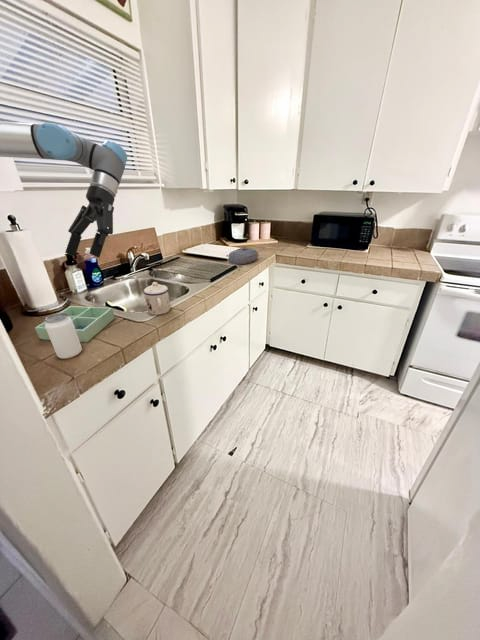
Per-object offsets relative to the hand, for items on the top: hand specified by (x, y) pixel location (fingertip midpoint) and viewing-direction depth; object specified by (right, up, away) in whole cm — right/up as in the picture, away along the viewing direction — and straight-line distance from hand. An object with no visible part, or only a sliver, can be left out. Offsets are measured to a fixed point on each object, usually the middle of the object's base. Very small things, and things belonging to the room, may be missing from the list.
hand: (81, 255), depth 79 cm
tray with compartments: (-8, -23, +12) cm, 27 cm away
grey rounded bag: (+51, +18, +89) cm, 104 cm away
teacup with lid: (+17, -17, +23) cm, 33 cm away
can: (-2, -30, -2) cm, 30 cm away
